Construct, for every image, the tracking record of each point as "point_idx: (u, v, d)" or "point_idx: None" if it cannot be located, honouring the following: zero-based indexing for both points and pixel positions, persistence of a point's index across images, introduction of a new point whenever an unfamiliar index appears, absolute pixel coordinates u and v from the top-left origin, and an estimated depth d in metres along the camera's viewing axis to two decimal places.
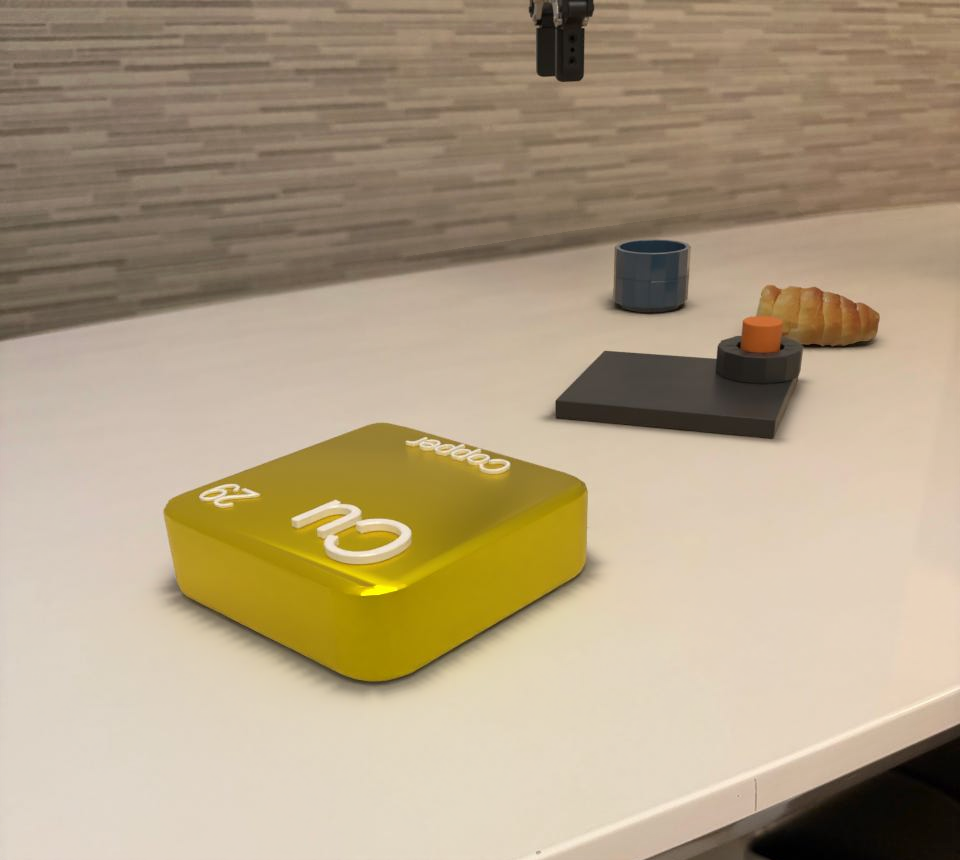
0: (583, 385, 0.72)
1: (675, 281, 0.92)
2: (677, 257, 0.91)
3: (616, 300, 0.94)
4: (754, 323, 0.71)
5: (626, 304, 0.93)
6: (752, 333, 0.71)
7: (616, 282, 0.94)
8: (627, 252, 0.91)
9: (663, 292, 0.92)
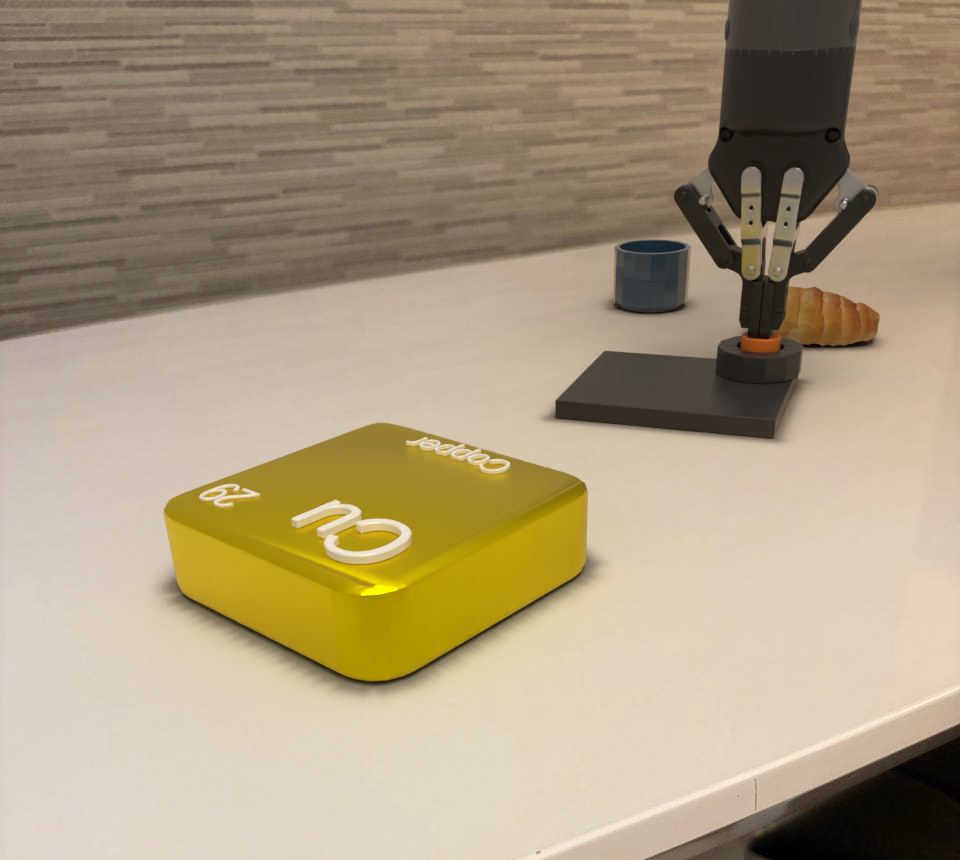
0: (583, 385, 0.72)
1: (675, 281, 0.92)
2: (677, 257, 0.91)
3: (616, 300, 0.94)
4: (753, 338, 0.72)
5: (626, 304, 0.93)
6: (751, 348, 0.72)
7: (616, 282, 0.94)
8: (627, 252, 0.91)
9: (663, 292, 0.92)
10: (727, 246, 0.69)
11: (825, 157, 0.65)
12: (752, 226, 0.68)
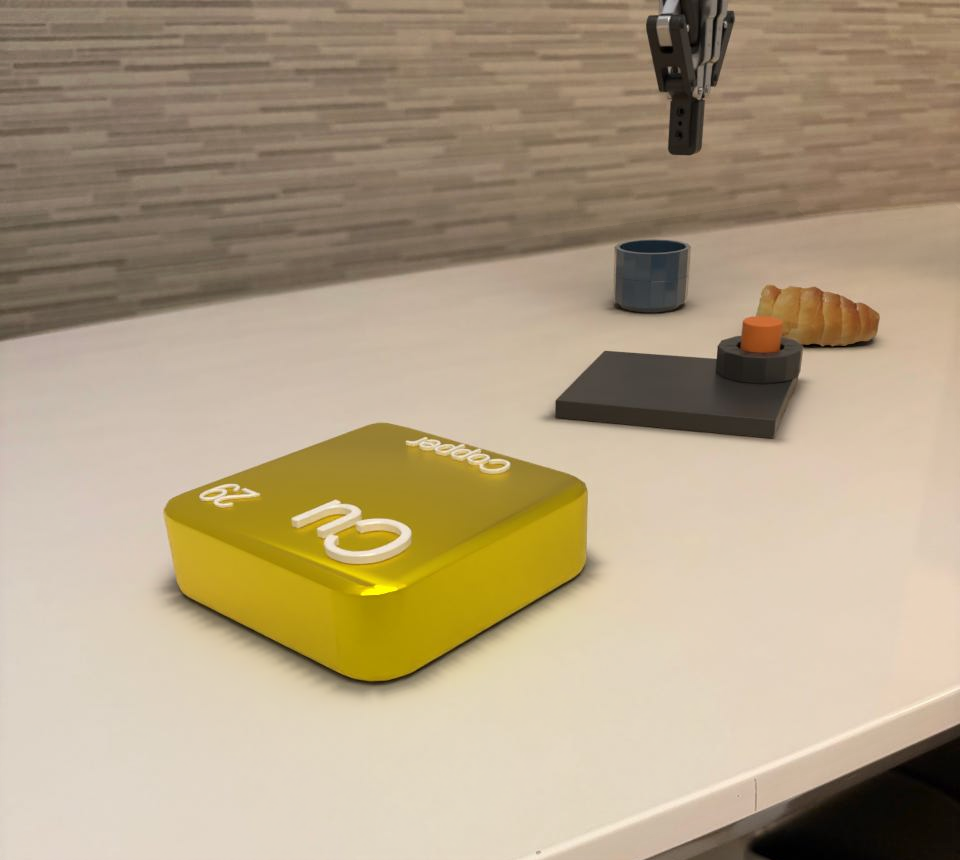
0: (583, 385, 0.72)
1: (675, 281, 0.92)
2: (677, 257, 0.91)
3: (616, 300, 0.94)
4: (754, 323, 0.71)
5: (626, 304, 0.93)
6: (752, 333, 0.71)
7: (616, 282, 0.94)
8: (627, 252, 0.91)
9: (663, 292, 0.92)
10: (692, 70, 0.77)
11: None
12: (709, 47, 0.78)
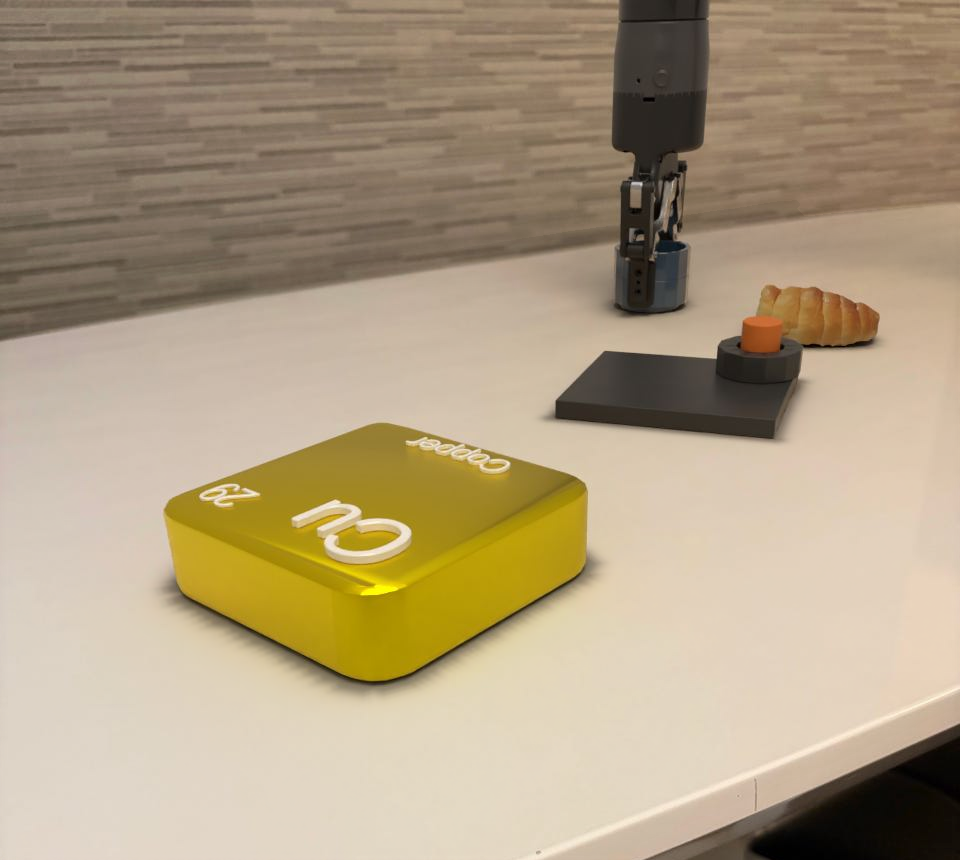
0: (583, 385, 0.72)
1: (675, 281, 0.92)
2: (677, 257, 0.91)
3: (616, 300, 0.94)
4: (754, 323, 0.71)
5: (626, 304, 0.93)
6: (752, 333, 0.71)
7: (616, 282, 0.94)
8: None
9: (663, 292, 0.92)
10: (651, 242, 0.88)
11: (676, 164, 0.92)
12: (666, 221, 0.89)
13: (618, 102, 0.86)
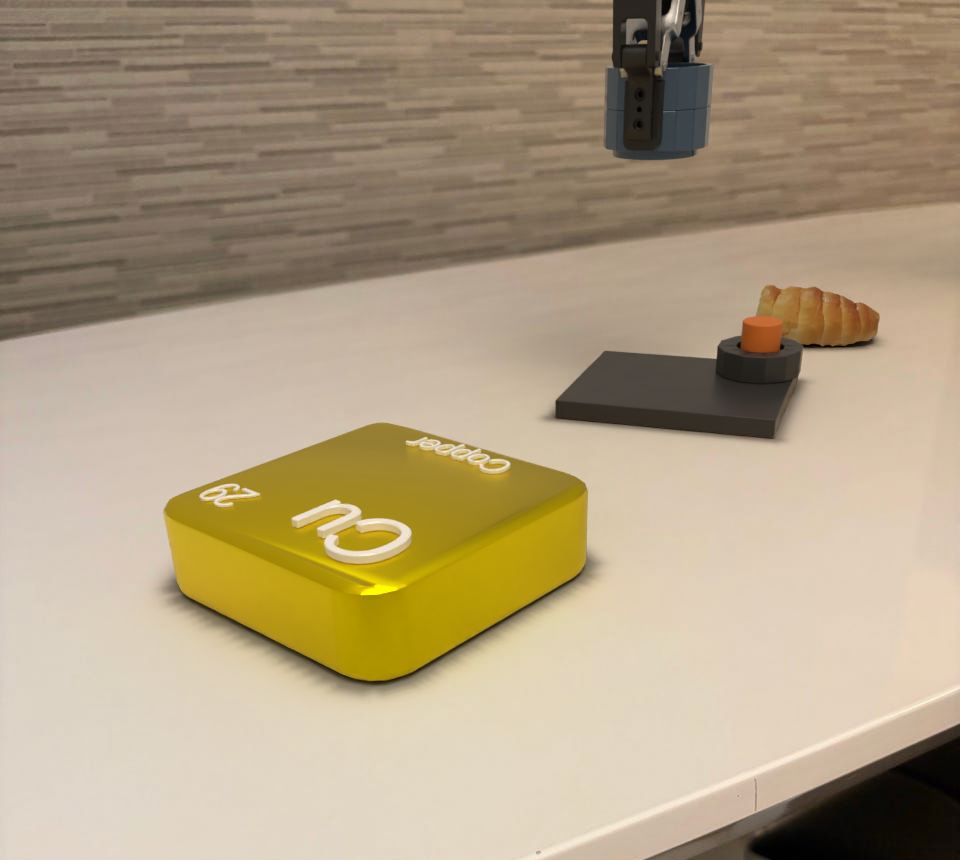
0: (583, 385, 0.72)
1: (691, 112, 0.64)
2: (694, 75, 0.63)
3: (607, 145, 0.67)
4: (754, 323, 0.71)
5: (621, 148, 0.66)
6: (752, 333, 0.71)
7: (607, 118, 0.66)
8: None
9: (674, 128, 0.64)
10: (658, 43, 0.60)
11: None
12: (680, 17, 0.62)
13: None
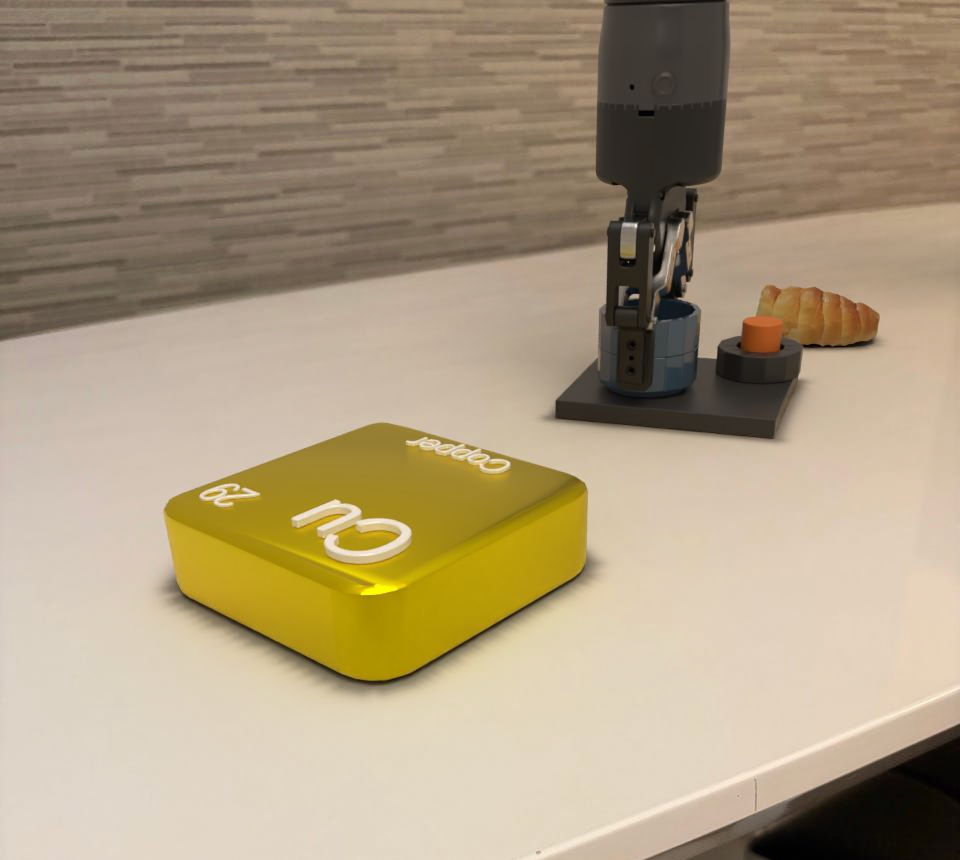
0: (583, 385, 0.72)
1: (680, 357, 0.68)
2: (683, 326, 0.67)
3: (601, 380, 0.71)
4: (754, 323, 0.71)
5: (614, 386, 0.70)
6: (752, 333, 0.71)
7: (601, 356, 0.70)
8: None
9: (664, 372, 0.68)
10: None
11: (683, 199, 0.68)
12: (670, 276, 0.65)
13: (604, 117, 0.62)
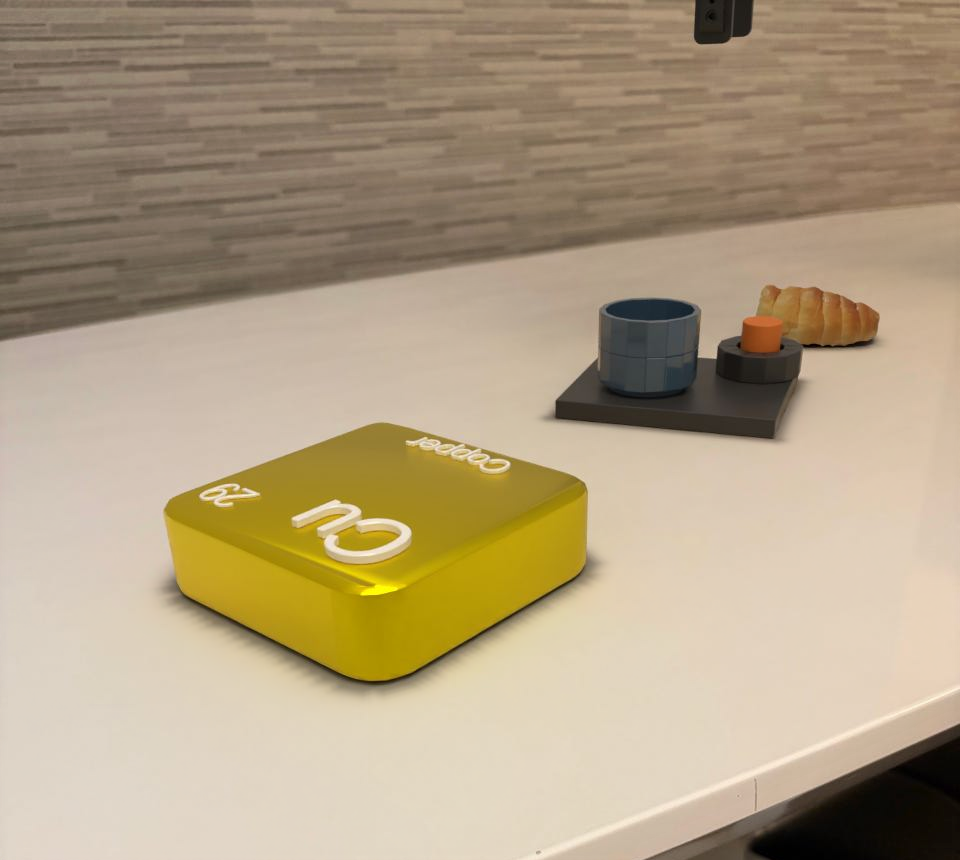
0: (583, 385, 0.72)
1: (680, 357, 0.68)
2: (683, 326, 0.67)
3: (601, 380, 0.71)
4: (754, 323, 0.71)
5: (614, 386, 0.70)
6: (752, 333, 0.71)
7: (601, 356, 0.70)
8: (615, 319, 0.68)
9: (664, 372, 0.68)
10: None
11: None
12: None
13: None
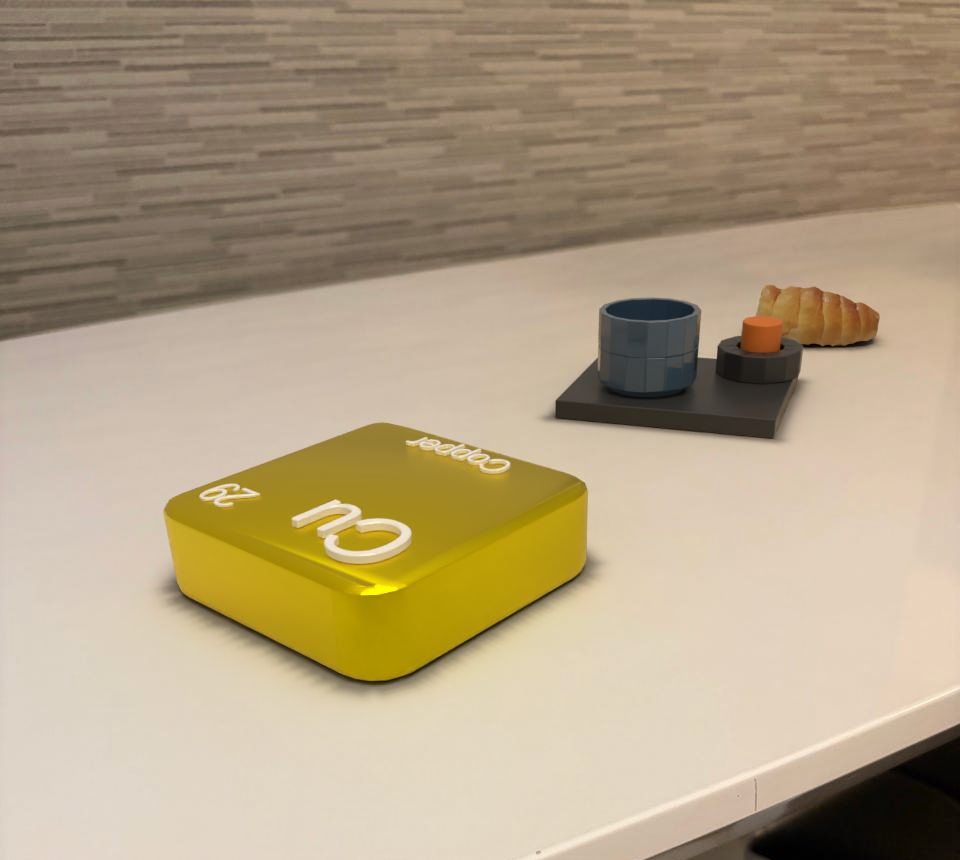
0: (583, 385, 0.72)
1: (680, 357, 0.68)
2: (683, 326, 0.67)
3: (601, 380, 0.71)
4: (754, 323, 0.71)
5: (614, 386, 0.70)
6: (752, 333, 0.71)
7: (601, 356, 0.70)
8: (615, 319, 0.68)
9: (664, 372, 0.68)
10: None
11: None
12: None
13: None
